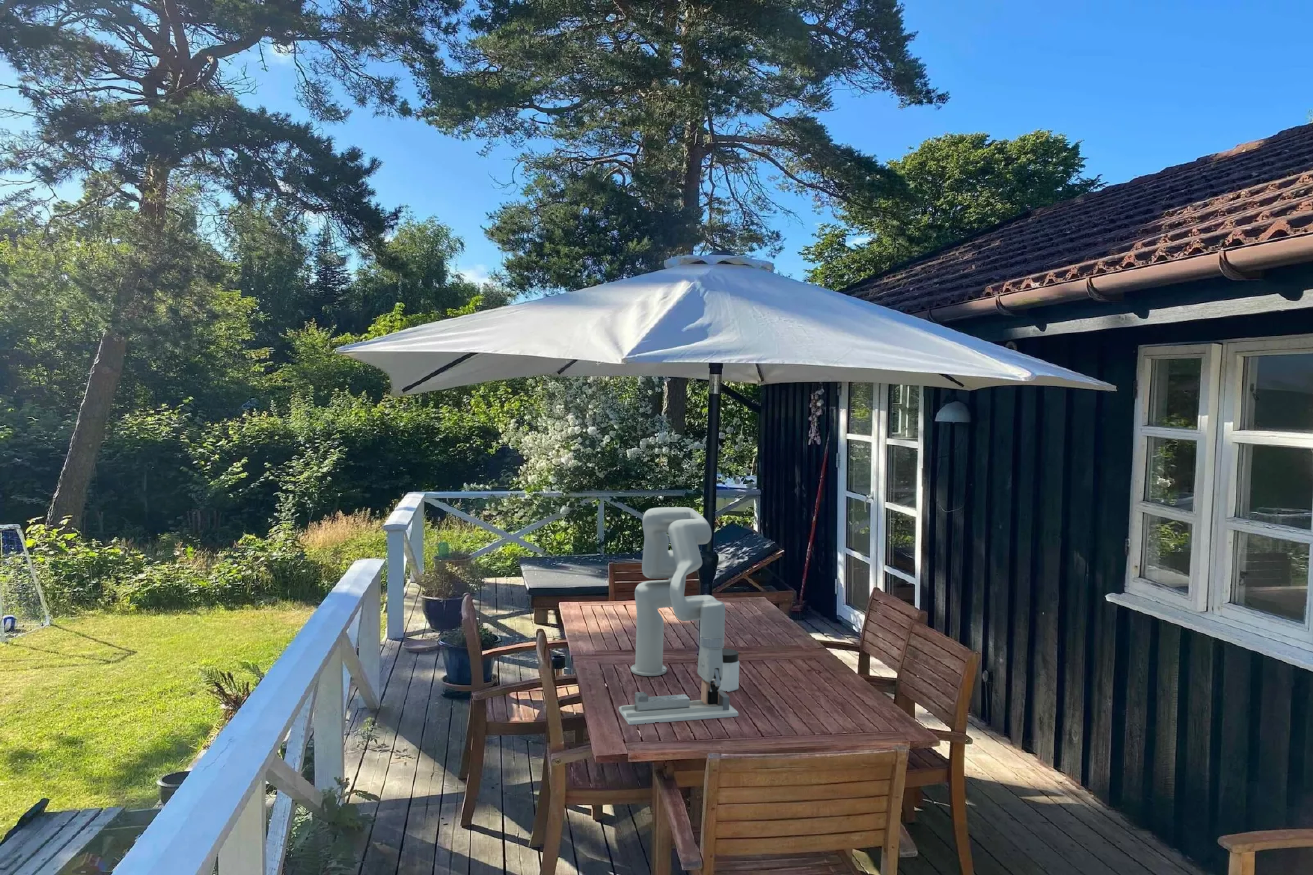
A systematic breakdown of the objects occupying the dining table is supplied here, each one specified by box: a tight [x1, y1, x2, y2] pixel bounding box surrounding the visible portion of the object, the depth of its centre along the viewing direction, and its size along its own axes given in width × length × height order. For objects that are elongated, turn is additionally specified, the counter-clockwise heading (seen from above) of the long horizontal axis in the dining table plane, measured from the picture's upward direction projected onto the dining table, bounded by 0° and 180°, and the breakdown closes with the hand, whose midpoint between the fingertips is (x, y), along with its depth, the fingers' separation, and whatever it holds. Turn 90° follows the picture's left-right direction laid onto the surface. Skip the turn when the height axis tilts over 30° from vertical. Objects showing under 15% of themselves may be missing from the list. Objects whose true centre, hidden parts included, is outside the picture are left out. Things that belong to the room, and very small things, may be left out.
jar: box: [712, 648, 740, 693], centre depth 285 cm, size 9×8×12 cm
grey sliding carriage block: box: [634, 691, 691, 712], centre depth 258 cm, size 4×16×5 cm, turn 107°
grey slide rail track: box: [618, 690, 739, 726], centre depth 259 cm, size 12×34×5 cm, turn 107°
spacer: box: [700, 680, 719, 704], centre depth 262 cm, size 4×4×6 cm
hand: (709, 700), depth 262 cm, fingers closed on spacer, 4 cm apart
